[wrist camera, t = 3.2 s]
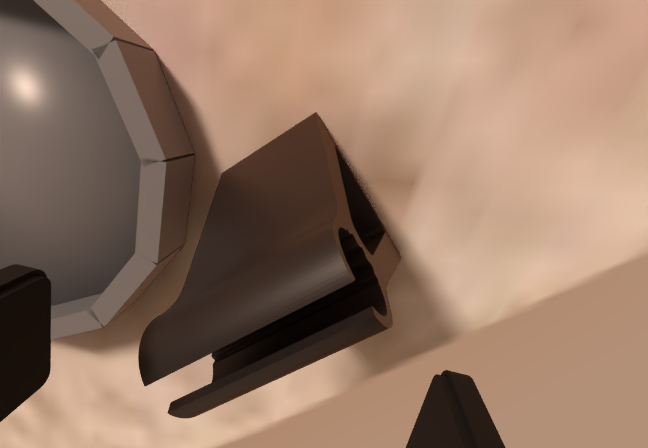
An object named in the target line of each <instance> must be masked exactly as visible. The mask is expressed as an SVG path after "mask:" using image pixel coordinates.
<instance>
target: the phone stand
mask: <svg viewBox="0 0 648 448" xmlns="http://www.w3.org/2000/svg"><path fill="white" fill-rule="evenodd" d="M400 260H401V256H400V254H399V252H398V250H397V248H396V246H395V245H394V243H393V241H392V240H391V238H390V236H389V235H388V233H387V231H386V229H385V228H384V226H383V224H382V223H381V221H380V219H379V217H378V216H377V214H376V212H375V211H374V209H373V207H372V206H371V204H370V202H369V200H368V199H367V197H366V195H365V194H364V192H363V190H362V189H361V187H360V186H359V183H358V182H357V180H356V178H355V177H354V175H353V173H352V171H351V170H350V168H349V166H348V165H347V163H346V161H345V159H344V158H343V156H342V154H341V153H340V151H339V149H338V148H337V146H336V144H335V142H334V141H333V139H332V137H331V136H330V134H329V132H328V130H327V129H326V127H325V125H324V124H323V122H322V120H321V119H320V117H319V115H318V114H317V113H316V112H315V113H314V114H312V115H311V116H309V117H308V118H306V119H305V120H303V121H302V122H300V123H299V124H297V125H295V126H294V127H292V128H291V129H289V130H288V131H286V132H285V133H283V134H282V135H280V136H279V137H277V138H275V139H274V140H272V141H271V142H269V143H268V144H266V145H265V146H263V147H262V148H260V149H259V150H257V151H255V152H254V153H252V154H251V155H249V156H248V157H246V158H245V159H243V160H242V161H240V162H239V163H237V164H235V165H234V166H232V167H231V168H229V169H228V170H226V171H225V172H223V173H222V175H221V178H220V181H219V184H218V187H217V190H216V193H215V196H214V199H213V202H212V204H211V207H210V210H209V213H208V216H207V219H206V222H205V225H204V228H203V231H202V234H201V237H200V240H199V243H198V246H197V249H196V252H195V255H194V258H193V261H192V264H191V266H190V269H189V272H188V275H187V278H186V281H185V284H184V287H183V290H182V292H181V294H180V296H179V297H178V299H177V300H176V302H175V303H174V304H173V305H172V306H171V307H170V308H169V309H168V310H167V311H166V312H164V313H163V314H161V315H160V316H158V317H157V318H155V319H154V320H153V321H152V322H151V323H150V324H149V325H148V326H147V328H146V330H145V331H144V333H143V336H142V338H141V342H140V346H139V369H140V374H141V378H142V381H143V383H144V386H147V385H149V384H151V383H153V382H155V381H157V380H159V379H161V378H163V377H165V376H167V375H169V374H171V373H173V372H175V371H177V370H179V369H181V368H183V367H185V366H187V365H189V364H191V363H193V362H195V361H197V360H199V359H201V358H203V357H205V356H207V355H209V354H211V353H212V358H213V359H214V360H215V362H214V363H213V380H212V383H211V384H208V385H206V386H204V387H202V388H200V389H198V390H196V391H194V392H192V393H190V394H188V395H185V396H183V397H181V398H179V399H177V400H175V401H173V402H171V404H170V407H169V410H168V414H170V415H172V416H175V417H178V418H192V417H195V416H198V415H200V414H202V413H204V412H206V411H209V410H211V409H213V408H215V407H217V406H220V405H222V404H224V403H226V402H228V401H231V400H233V399H235V398H237V397H239V396H241V395H244V394H246V393H248V392H250V391H252V390H255V389H257V388H259V387H261V386H263V385H266V384H268V383H270V382H272V381H274V380H277V379H279V378H281V377H283V376H285V375H287V374H290V373H292V372H294V371H296V370H298V369H301V368H303V367H305V366H307V365H309V364H312V363H314V362H316V361H318V360H320V359H323V358H325V357H327V356H329V355H331V354H333V353H336V352H338V351H340V350H342V349H344V348H347V347H349V346H351V345H353V344H355V343H358V342H360V341H362V340H364V339H366V338H369V337H371V336H373V335H375V334H377V333H379V332H382V331H384V330H386V329H388V328H390V327H391V326H392V314H391V310H390V306H389V302H388V297H387V290H386V286H387V283H388V281H389V279H390V277H391V276H392V274H393V272H394V270H395V269H396V267H397V265H398V264H399V262H400Z"/></svg>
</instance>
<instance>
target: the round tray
mask: <svg viewBox="0 0 648 448" xmlns="http://www.w3.org/2000/svg"><path fill="white" fill-rule="evenodd" d="M152 50H153V49H152V48H151V47H150V46H149V45H148V44H147V43H146V42H145V41H144V40H143V39H142V38H140V37H139V36H138V35H137V34H136V33H135V32H134V31H133V30H132V29H131V28H130V27H129V26H128V25H127V24H125V23H124V22H123V21H122V20H121V19H120V18H119V17H118V16H117V15H116V14H115V13H114V12H113V11H112V10H110V9H109V8H108V7H107V6H106V5H105V4H104V3H103V2H102V1H101V0H0V269H3V268H5V267H7V266H10V265H14V264H19V265H23V266H27V267H31V268H36V269H40V270H42V271H44V272H45V273H46V275H47V278H48V279H49V280H50V281H51V340H54V339H58V338H62V337H66V336H70V335H75V334H79V333H83V332H87V331H91V330H96V329H100V328H103V327H105V326H106V325H107V324H108V323H110V322H111V321H112V320H113V319H114V318H116V317H117V316H118V315H119V314H120V313H122V312H123V311H124V310H125V309H126V308H127V307H129V306H130V305H131V304H132V303H133V302H135V301H136V300H137V299H138V298H139V297H140V296H141V294H142V293H143V292H144V291H145V290H146V289H147V287H148V286H149V285H150V284H151V283H152V282H153V280H154V279H155V278H156V277H157V276H158V275H159V273H160V272H161V271H162V270H163V269H164V268H165V266H166V265H167V264H168V263H169V262H170V261H171V259H172V258H173V257H174V256H175V255H176V254H177V252H178V251H179V250H180V249H181V248H182V247H183V246H184V243H185V239H186V230H187V222H188V213H189V204H190V195H191V186H192V178H193V169H194V160H195V155H191V154H192V153H195V152H194V150H193V147H192V145H191V142H190V140H189V137H188V135H187V132H186V130H185V127H184V124H183V122H182V119H181V117H180V114H179V112H178V109H177V107H176V104H175V102H174V99H173V97H172V94H171V92H170V89H169V87H168V84H167V81H166V79H165V76H164V74H163V71H162V69H161V66H160V64H159V61H158V59H157V56H156V54H155V52H154V51H152Z"/></svg>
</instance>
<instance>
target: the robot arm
mask: <svg viewBox="0 0 648 448" xmlns="http://www.w3.org/2000/svg"><path fill="white" fill-rule="evenodd" d="M50 358H51V281H50V280H49V279H48V278H47V275H46V273H45V272H44V271H42V270H40V269H36V268H31V267H27V266H23V265H19V264H14V265H10V266H7V267H5V268H3V269H0V422H1V421H2V420H3V419H4V418H6V417H7V416H8V415H9V414H10V413H11V412H13V411H14V410H15V409H16V408H17V407H18V406H20V405H21V404H22V403H23V402H24V401H25V400H27V399H28V398H29V397H30V396H31V395H33V394H34V393H35V392H36V391H37V390H38V389H40V388H41V387H42V386H43V385H44V383H45V382H46V380H47V379H48V377H49V374H50ZM406 448H505V446H504V444H503V442H502V440H501V438H500V435H499V433H498V431H497V429H496V427H495V425H494V423H493V421H492V419H491V417H490V414H489V413H488V410H487V408H486V406H485V404H484V402H483V400H482V398H481V396H480V394H479V391H478V389H477V387H476V385H475V383H474V381H473V379H472V378H471V377H470V376H468V375H464V374H460V373H456V372H451V371H448V370H446V371H443V373H442V374H441V375H435V376H434V377H433V379H432V382H431V384H430V387H429V389H428V392H427V395H426V397H425V400H424V403H423V405H422V407H421V410H420V413H419V415H418V418H417V421H416V423H415V425H414V428H413V431H412V433H411V436H410V438H409V441H408V444H407V446H406Z"/></svg>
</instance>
